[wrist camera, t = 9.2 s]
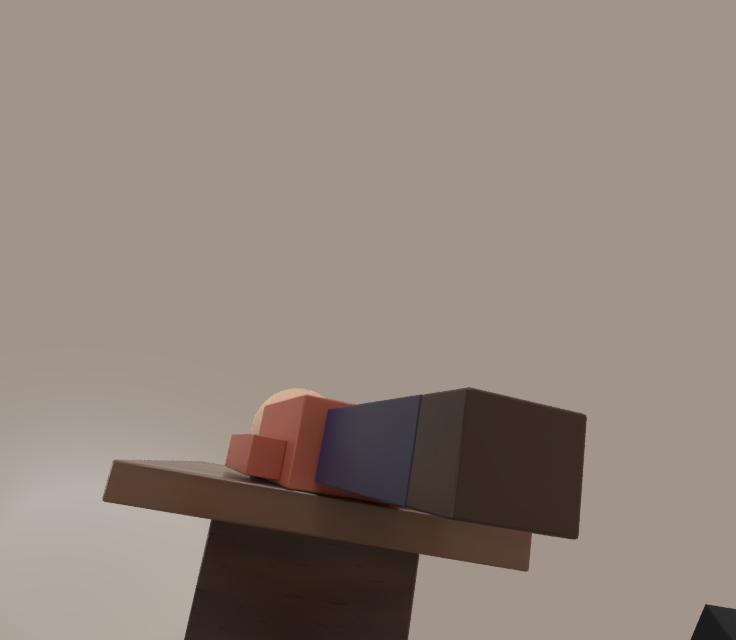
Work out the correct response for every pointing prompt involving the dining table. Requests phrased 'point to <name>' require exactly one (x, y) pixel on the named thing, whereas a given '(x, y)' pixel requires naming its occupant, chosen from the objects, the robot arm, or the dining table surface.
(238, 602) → the stand
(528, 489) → the doll
